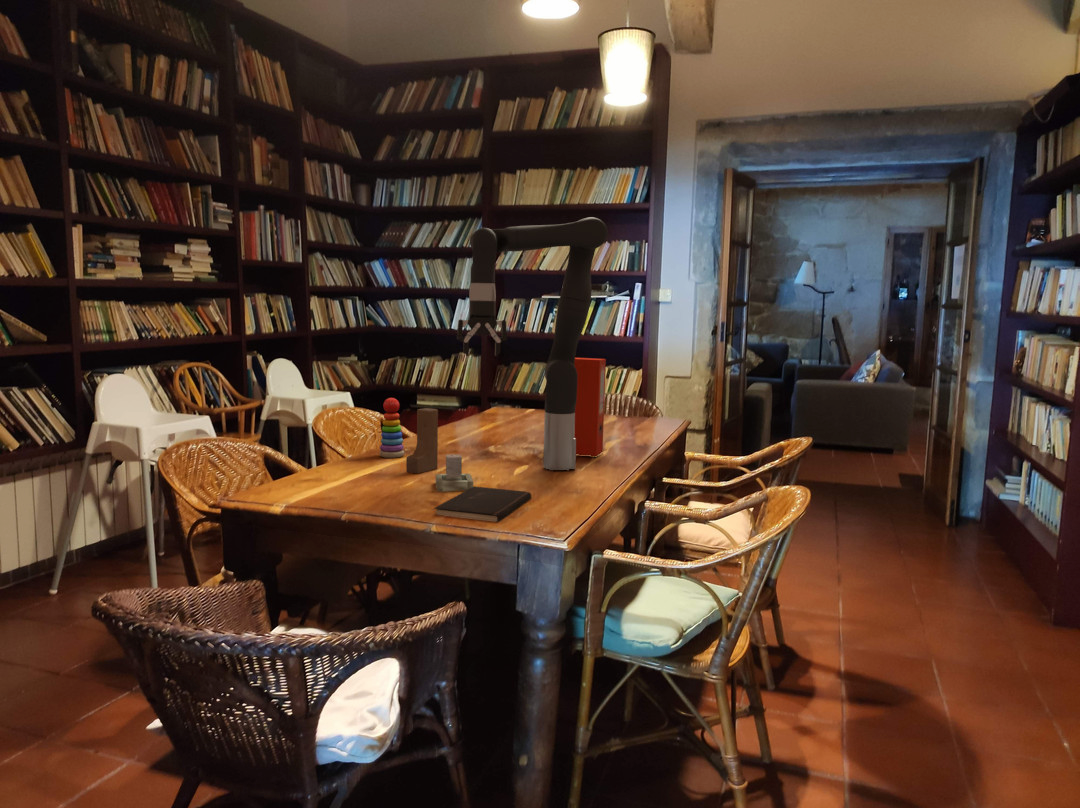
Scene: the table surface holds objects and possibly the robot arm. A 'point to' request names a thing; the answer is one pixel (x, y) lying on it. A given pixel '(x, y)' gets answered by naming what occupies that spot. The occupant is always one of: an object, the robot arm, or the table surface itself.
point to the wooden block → (425, 442)
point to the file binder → (589, 405)
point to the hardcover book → (484, 504)
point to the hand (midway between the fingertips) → (481, 355)
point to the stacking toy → (391, 431)
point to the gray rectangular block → (453, 467)
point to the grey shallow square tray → (453, 483)
